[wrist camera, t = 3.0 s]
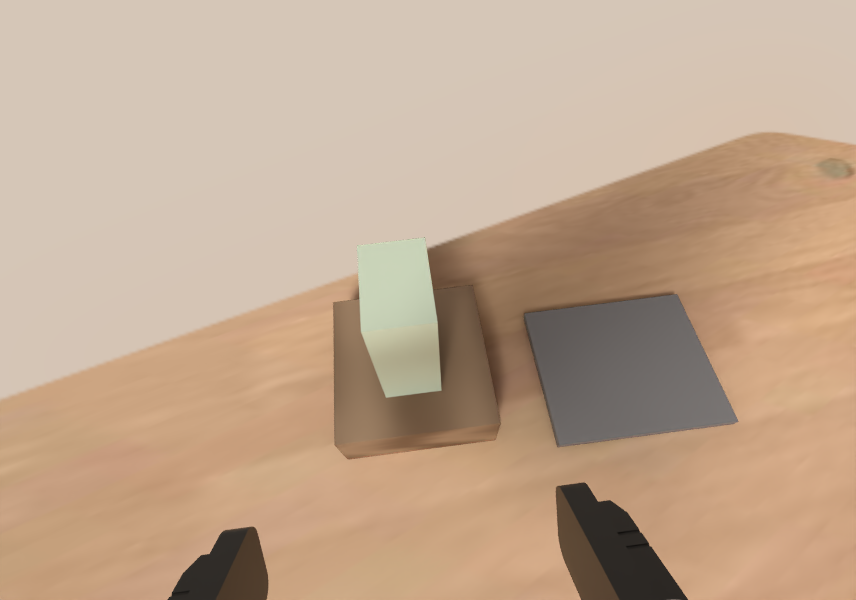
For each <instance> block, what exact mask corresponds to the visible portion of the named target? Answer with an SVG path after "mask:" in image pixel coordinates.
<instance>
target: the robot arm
mask: <svg viewBox="0 0 856 600" xmlns="http://www.w3.org/2000/svg"><path fill="white" fill-rule="evenodd" d="M556 504H557V522H558V537H559V543H560V548H561V552H562V555H563V558H564V561H565V563H566V566H567V568H568V570H569V572H570V575H571V577H572V579H573V582H574V584H575V586H576V589H577V591H578V593H579V595H580V598H581V600H688V599H687V597H686V596H685V595H684V593H683V592H682V590H681V589H680V587H679V586H678V585H677V583H676V582H675V580H674V579H673V577H672V576H671V574H670V573H669V572H668V570H667V569H666V567H665V566H664V564H663V563H662V562H661V560H660V559H659V557H658V556H657V554H656V553H655V552H654V550H653V549H652V547H650V546H649V543H648V541H647V540H646V539H645V537H644V536H643V534H642V533H640V531H639V529H638V527H637V526H636V524H635V523H634V521H633V520H632V519H631V517H630V516H629V514H628V513H627V512H626V511H624V510H623V509H621V508H620V507H619V506H617V505H616V504H615V503H613V502H612V501H610V500H609V501H601V502H598V501H597V499H596V498H595V496H594V495H593V493H592V492H591V490H590V488H589V487H588V485H587V484H586V483H576V484H569V485H562V486H557V487H556ZM267 594H268V574H267V569H266V565H265V561H264V557H263V553H262V549H261V545H260V541H259V537H258V533H257V530H256V529H255V527H246V528H239V529H231V530H225V531H223V532H222V533H221V534H220V536H219V538H218V540H217V541H216V543H215V545H214V547H213V549H212V551H211V552H210V554H207V555H201V556H200V557H199V558H198V559H197V560H196V561H195V562H194V563H193V564H192V565H191V566H190V567H189V568H188V569H187V570H186V571H185V572H184V573H183V574H182V576H181V578H180V580H179V581H178V583H177V585H176V586H175V588H174V590H173V592H172V596H171V597H169V599H168V600H266V599H267Z"/></svg>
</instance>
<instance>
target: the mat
mask: <svg viewBox="0 0 856 600" xmlns="http://www.w3.org/2000/svg"><path fill="white" fill-rule="evenodd" d="M523 318H524V321H525V325H526V329H527V333H528V337H529V341H530V344H531V348H532V352H533V356H534V360H535V363H536V367H537V371H538V375H539V379H540V382H541V386H542V390H543V394H544V398H545V401H546V405H547V409H548V413H549V417H550V420H551V424H552V428H553V432H554V436H555V439H556V443H557V447H563V446H571V445H578V444H586V443H594V442H601V441H609V440H616V439H624V438H631V437H639V436H646V435H654V434H661V433H669V432H676V431H684V430H691V429H699V428H707V427H714V426H722V425H729V424H734V423H736V422H738V419H737V417H736V415H735V413H734V411H733V409H732V407H731V405H730V403H729V401H728V399H727V397H726V395H725V393H724V390H723V388H722V386H721V384H720V382H719V380H718V378H717V376H716V374H715V372H714V370H713V368H712V366H711V364H710V362H709V359H708V357H707V355H706V353H705V351H704V349H703V347H702V345H701V343H700V341H699V339H698V337H697V335H696V333H695V331H694V328H693V326H692V324H691V322H690V320H689V318H688V316H687V314H686V312H685V310H684V308H683V306H682V304H681V302H680V299H679V297H678V295H677V294H675V295H667V296H659V297H651V298H643V299H635V300H627V301H619V302H611V303H603V304H595V305H587V306H579V307H571V308H564V309H556V310H548V311H540V312H532V313H524V317H523Z"/></svg>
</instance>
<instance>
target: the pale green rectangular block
mask: <svg viewBox="0 0 856 600" xmlns="http://www.w3.org/2000/svg"><path fill="white" fill-rule="evenodd" d="M357 253H358V277H359V300H360V322H361V334H362V336H363V339H364V341H365V344H366V347H367V349H368V352H369V355H370V357H371V360H372V362H373V365H374V368H375V370H376V373H377V375H378V378H379V381H380V383H381V386H382V389H383V391H384V394H385V396H386V398H388V397H396V396H403V395H411V394H419V393H427V392H434V391H442V390H441V373H440V356H439V339H438V322H437V315H436V309H435V302H434V295H433V288H432V281H431V274H430V268H429V261H428V254H427V247H426V240H425V237H424V238H416V239H408V240H400V241H392V242H383V243H375V244H367V245H359V246H357Z"/></svg>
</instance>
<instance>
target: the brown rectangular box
mask: <svg viewBox="0 0 856 600" xmlns="http://www.w3.org/2000/svg"><path fill="white" fill-rule="evenodd" d="M433 295H434V302H435V309H436V315H437V322H438V339H439V356H440V373H441V390H442V391H434V392H427V393H419V394H411V395H403V396H396V397H388V398H386V396H385V394H384V391H383V389H382V386H381V383H380V381H379V378H378V375H377V373H376V370H375V368H374V365H373V362H372V360H371V357H370V355H369V352H368V349H367V347H366V344H365V341H364V339H363V336H362V334H361V322H360V300H359V299H356V300H348V301H340V302H333V317H334V438H335V446H336V447H337V448H338V449H339V450H340V451H341V453H342V454H343V455H344V456H345V457H346V458H347V459H355V458H362V457H370V456H378V455H385V454H393V453H400V452H408V451H415V450H423V449H431V448H438V447H446V446H453V445H461V444H468V443H476V442H484V441H491V440H495V439H496V436H497V433H498V430H499V427H500V424H501V422H500V417H499V412H498V407H497V402H496V397H495V392H494V388H493V383H492V378H491V373H490V368H489V363H488V358H487V353H486V348H485V343H484V338H483V333H482V329H481V324H480V319H479V314H478V309H477V304H476V299H475V294H474V289H473V285H468V286H460V287H452V288H444V289H436V290H433Z"/></svg>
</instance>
